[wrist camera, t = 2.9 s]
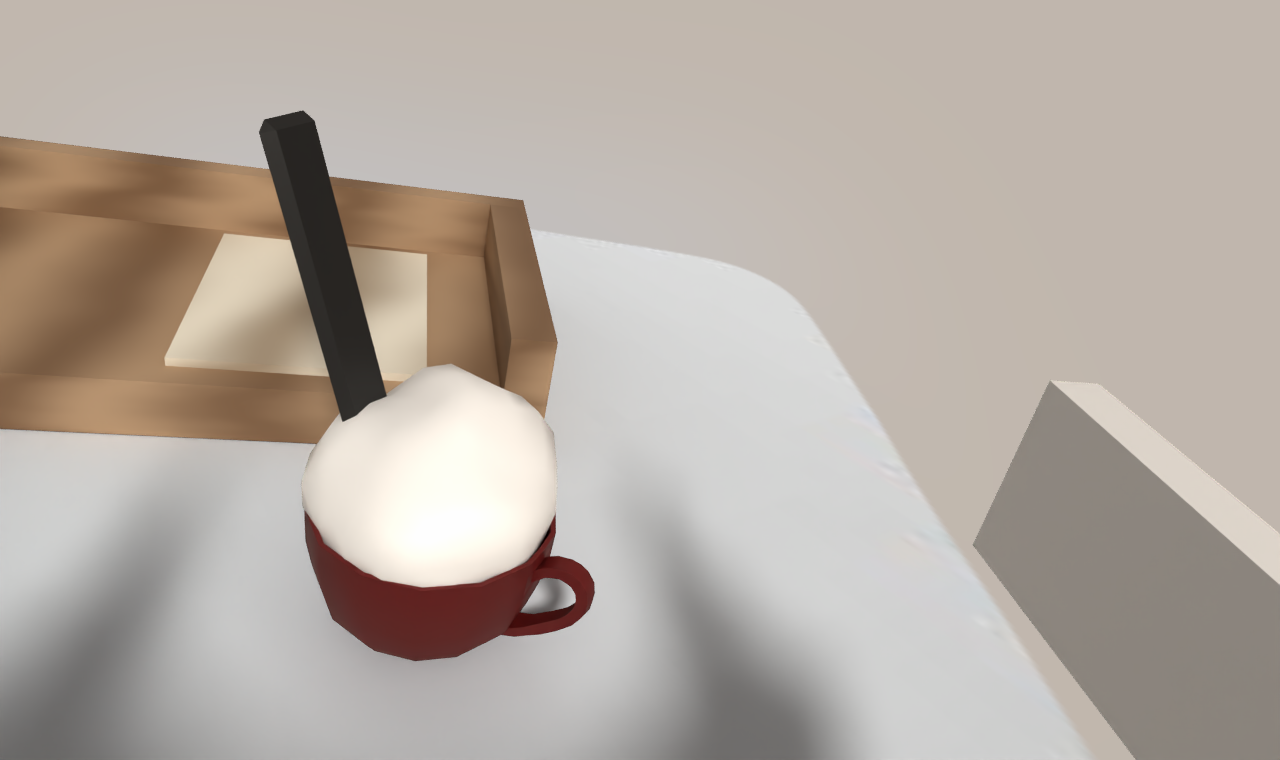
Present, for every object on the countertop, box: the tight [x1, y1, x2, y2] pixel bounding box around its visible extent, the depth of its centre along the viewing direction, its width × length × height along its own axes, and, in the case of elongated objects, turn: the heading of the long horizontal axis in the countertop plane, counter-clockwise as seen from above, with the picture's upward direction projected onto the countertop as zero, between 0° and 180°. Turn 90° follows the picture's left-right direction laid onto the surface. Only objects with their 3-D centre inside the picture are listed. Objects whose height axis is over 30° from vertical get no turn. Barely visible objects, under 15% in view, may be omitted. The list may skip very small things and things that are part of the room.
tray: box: [0, 136, 558, 444], centre depth 32 cm, size 30×13×4 cm, turn 101°
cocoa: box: [259, 111, 595, 661], centre depth 22 cm, size 10×6×12 cm, turn 45°
